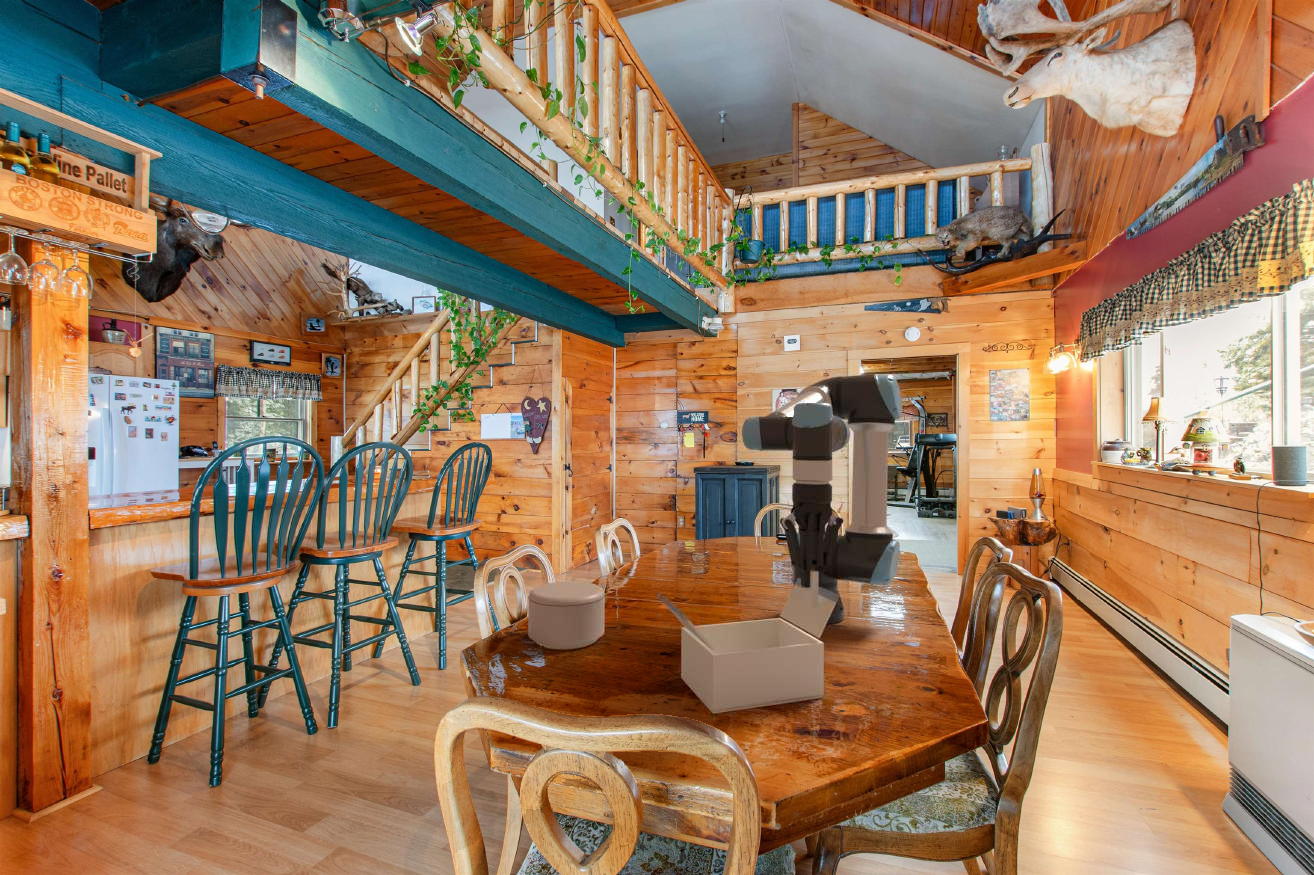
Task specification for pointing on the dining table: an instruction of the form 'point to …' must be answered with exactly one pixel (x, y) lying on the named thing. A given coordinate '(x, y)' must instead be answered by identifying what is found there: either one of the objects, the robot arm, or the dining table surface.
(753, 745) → the dining table surface
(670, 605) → the flap
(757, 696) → the carton
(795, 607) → the flap
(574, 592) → the container
